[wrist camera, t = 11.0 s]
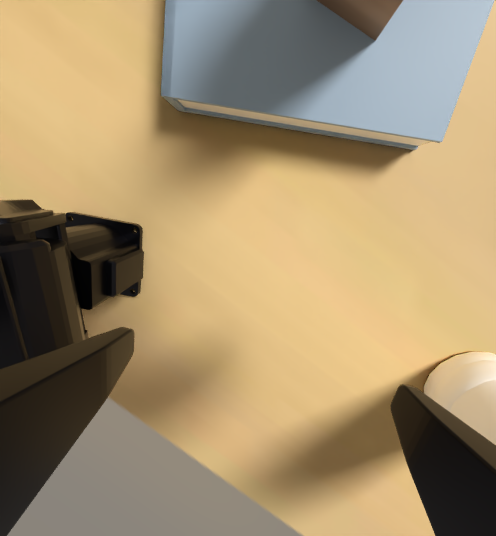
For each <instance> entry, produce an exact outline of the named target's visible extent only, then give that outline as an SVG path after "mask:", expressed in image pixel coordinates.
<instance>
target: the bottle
mask: <svg viewBox="0 0 496 536" xmlns="http://www.w3.org/2000/svg"><path fill="white" fill-rule="evenodd" d="M424 394H426V395H427V396H428V397H430V398H431V399H432V400H434V401H435V402H437V403H438V404H439V405H441V406H442V407H444V408H445V409H446V410H448V411H449V412H450V413H452V414H453V415H455V416H456V417H457V418H459V419H460V420H462V421H463V422H464V423H466V424H467V425H468V426H470V427H471V428H473V429H474V430H475V431H477V432H478V433H480V434H481V435H482V436H484V437H485V438H486V439H488V440H489V441H491V442H492V443H493V444H495V445H496V354H493V353H491V352H468V353H464V354H460V355H455V356H453V357H451V358H450V359H448V360H446V361H444V362H442V363H440V364H439V365H438V366H437V367H436V368H435V369H434V370H433V371H432V372H431V373H430V374H429V377H428V379H427V381H426V383H425V385H424Z"/></svg>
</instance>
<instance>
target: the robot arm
mask: <svg viewBox="0 0 496 536" xmlns="http://www.w3.org/2000/svg"><path fill="white" fill-rule="evenodd" d="M71 216H72V217H73V220H72V219H71ZM134 228H136V229H137V233H136V232H135V231H134ZM142 233H143V231H142V227H141V226H140V225H138V224H135V223H129V222H124V221H119V220H113V219H108V218H102V217H97V216H92V215H86V214H81V213H75V212H69V213H66V214H65V213H53V211H52V210H44V209H42V208H40V207H39V206H38V205H37V204H36V203H35V202H34V201H33V200H0V536H7V535H8V533H9V532H10V531H11V529H12V528H13V527H14V525H15V524H16V523H17V521H18V520H19V518H20V517H21V516H22V514H23V513H24V512H25V510H26V509H27V507H28V506H29V505H30V503H31V502H32V501H33V499H34V498H35V497H36V495H37V493H38V492H39V491H40V489H41V488H42V487H43V486H44V484H45V483H46V481H47V480H48V479H49V477H50V476H51V474H52V473H53V472H54V470H55V469H56V468H57V466H58V465H59V464H60V462H61V461H62V459H63V458H64V457H65V455H66V454H67V453H68V451H69V450H70V448H71V447H72V446H73V444H74V443H75V442H76V440H77V439H78V438H79V436H80V435H81V433H82V432H83V431H84V429H85V428H86V427H87V425H88V424H89V423H90V421H91V420H92V418H93V417H94V416H95V414H96V413H97V412H98V410H99V409H100V407H101V406H102V405H103V403H104V402H105V400H106V399H107V397H108V396H109V394H110V393H111V391H112V389H113V388H114V386H115V384H116V383H117V381H118V379H119V377H120V376H121V374H122V372H123V371H124V369H125V367H126V366H127V364H128V362H129V360H130V359H131V357H132V355H133V351H134V331H133V330H132V329H129V328H124V327H120V328H117V329H114V330H111V331H108V332H106V333H103V334H100V335H97V336H94V337H91V338H88V333H87V330H85V326H84V321H83V315H82V310H81V309H87V310H91V309H92V308H94V307H95V306H97V305H98V304H100V303H101V302H103V301H104V300H106V299H108V298H109V297H115V296H117V295H118V294H122V295H127V296H132V297H135V296H137V295H138V294H139V293H140V286H141V279H142V278H143V258H144V252H143V250H142ZM132 289H134V290H135V292H133V290H132ZM391 413H392V416H393V419H394V423H395V426H396V429H397V433H398V436H399V439H400V443H401V446H402V449H403V453H404V456H405V459H406V462H407V465H408V467H409V470H410V473H411V475H412V478H413V480H414V483H415V485H416V488H417V490H418V493H419V495H420V498H421V500H422V503H423V505H424V508H425V511H426V513H427V516H428V518H429V521H430V523H431V526H432V528H433V531H434V533H435V536H496V445H495V444H493V443H492V442H491V441H489V440H488V439H486V438H485V437H484V436H482V435H481V434H480V433H478V432H477V431H475V430H474V429H473V428H471V427H470V426H468V425H467V424H466V423H464V422H463V421H462V420H460V419H459V418H457V417H456V416H455V415H453V414H452V413H450V412H449V411H448V410H446V409H445V408H444V407H442V406H441V405H439V404H438V403H437V402H435V401H434V400H432V399H431V398H430V397H428V396H427V395H426V394H424V393H423V392H421V391H420V390H419V389H417V388H416V387H413V386H409V385H404V384H402V385H400V386H399V387H398V389H397V391H396V393H395V396H394V398H393V400H392V402H391Z"/></svg>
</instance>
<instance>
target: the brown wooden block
mask: <svg viewBox="0 0 496 536" xmlns="http://www.w3.org/2000/svg"><path fill="white" fill-rule="evenodd" d="M317 1H318V2H320V3H321V4H322V5H324V6H325V7H327V8H328V9H330V10H331V11H333V12H334V13H336V14H337V15H338V16H340V17H341V18H343V19H344V20H346V21H347V22H349V23H350V24H351V25H353V26H354V27H356V28H357V29H359V30H360V31H362V32H363V33H365V34H366V35H367V36H369V37H370V38H372V39H373V40H375V41H376V39H377V38H378V37H379V35H380V34H381V32H382V31H383V29H384V28H385V26H386V25H387V23H388V22H389V20H390V19H391V17H392V16H393V15H394V13H395V12H396V10H397V9H398V7H399V6H400V4H401V3H402V1H403V0H317Z"/></svg>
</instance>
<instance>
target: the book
mask: <svg viewBox="0 0 496 536" xmlns="http://www.w3.org/2000/svg"><path fill="white" fill-rule="evenodd" d="M493 3H494V0H403V1H402V3H401V4H400V6H399V7H398V9H397V10H396V12H395V13H394V15H393V16H392V17H391V19H390V20H389V22H388V23H387V25H386V26H385V28H384V29H383V31H382V32H381V34H380V35H379V37H378V38H377V39H376V41H375V40H373V39H372V38H370V37H369V36H367V35H366V34H365V33H363V32H362V31H360V30H359V29H357V28H356V27H354V26H353V25H351V24H350V23H349V22H347V21H346V20H344V19H343V18H341V17H340V16H338V15H337V14H336V13H334V12H333V11H331V10H330V9H328V8H327V7H325V6H324V5H322V4H321V3H320V2H318V1H317V0H166V4H165V23H164V43H163V62H162V82H161V96H162V97H163V98H164V99H165V100H167V101H168V102H169V103H170V104H171V105H172V106H173V107H175V108H176V109H177V110H178V111H182V112H188V113H194V114H200V115H206V116H212V117H218V118H224V119H230V120H236V121H242V122H248V123H254V124H260V125H266V126H272V127H278V128H284V129H290V130H296V131H302V132H308V133H314V134H320V135H326V136H332V137H338V138H344V139H350V140H356V141H362V142H368V143H374V144H380V145H386V146H392V147H398V148H404V149H410V150H416V149H417V148H418V146H420V145H423V144H426V143H429V142H438V143H439V142H442V141H443V138H444V135H445V132H446V130H447V127H448V124H449V122H450V119H451V116H452V114H453V111H454V108H455V105H456V103H457V100H458V97H459V95H460V92H461V89H462V86H463V84H464V81H465V78H466V76H467V73H468V70H469V68H470V65H471V62H472V59H473V57H474V54H475V51H476V49H477V46H478V43H479V40H480V38H481V35H482V32H483V30H484V27H485V24H486V22H487V19H488V16H489V13H490V11H491V8H492V5H493Z"/></svg>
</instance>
